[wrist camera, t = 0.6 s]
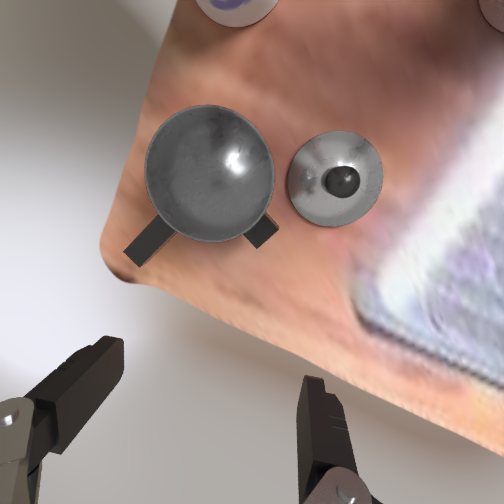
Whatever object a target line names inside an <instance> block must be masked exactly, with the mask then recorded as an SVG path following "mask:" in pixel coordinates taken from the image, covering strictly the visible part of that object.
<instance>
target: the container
mask: <svg viewBox="0 0 504 504" xmlns="http://www.w3.org/2000/svg"><path fill="white" fill-rule="evenodd" d="M196 2H197V4H198V5H199V7H200V8H201V9H202V11H203V12H204V13H205V14H206V15H207V16H208V17H209V18H211V19H212V20H214V21H215V22H217V23H219V24H222V25H225V26H229V27H243V26H248V25H251V24H253V23H255V22H257V21H259V20H260V19H262V18H263V17H265V16H266V15H267V14H268V13H269V12H270V11H271V10H272V9H273V7H274V6H275V5H276V3H277V2H278V0H196Z"/></svg>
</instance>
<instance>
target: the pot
mask: <svg viewBox="0 0 504 504" xmlns="http://www.w3.org/2000/svg"><path fill="white" fill-rule="evenodd" d="M144 169H145V183H146V188H147V191H148V195H149V197H150V200H151V202H152V204H153V206H154V208H155V209H156V211H157V212H158V215H157V216H156V217H155V218H154V219H153V221H152V222H151V223H150V224H149V225H148V226H147V227H146V228H145V229H144V230H143V231H142V232H141V233H140V234H139V235H138V236H137V237H136V239H135V240H134V241H133V242H132V243H131V244H130V245H129V246H128V247H127V248H126V249H125V250H124V251H123V252H124V253H125V254H126V255H127V256H128V257H129V258H130V259H131V260H132V261H133V262H134V263H135V264H136V265H137V266H138V267H139V268H140V267H141V266H143V265H144V264H146V263H147V262H148V261H149V260H150V259H151V258H152V257H153V256H154V255H155V254H156V253H157V252H158V251H159V250H160V249H161V248H162V247H163V246H164V245H165V244H166V243H167V242H168V241H169V240H170V239H171V238H172V237H173V236H174V235H175V234H176V233H177V232H178V233H180V234H182V235H184V236H186V237H188V238H191V239H194V240H197V241H202V242H222V241H227V240H231V239H234V238H236V237H238V236H240V235H242V234H243V235H244V236H245V237H246V238H247V239H248V240H249V241H250V242H251V243H252V244H253V245H254V247H255V248H256V249H257V248H259V247H260V246H261V245H262V244H263V243H264V242H265V241H267V240H268V239H269V238H270V237H271V236H272V235H273V234H274V233H276V232H277V231H278V230H279V226H278V225H277V223H276V222H275V221H274V220H273V219H272V218H271V217H270V216H269V215H268V214H267V212H266V209H267V207H268V205H269V203H270V200H271V198H272V194H273V190H274V182H275V171H274V164H273V159H272V155H271V152H270V150H269V147H268V145H267V143H266V141H265V140H264V138H263V136H262V135H261V133H260V132H259V131H258V129H257V128H256V127H255V126H254V125H253V124H252V123H251V122H250V121H249V120H247V119H246V118H245V117H243V116H242V115H240V114H239V113H237V112H235V111H233V110H230V109H228V108H225V107H221V106H216V105H197V106H193V107H189V108H186V109H183V110H181V111H179V112H177V113H175V114H174V115H172V116H171V117H170V118H168V119H167V120H166V121H165V122H164V123H163V124H162V125H161V126H160V127H159V129H158V130H157V131H156V133H155V134H154V136H153V138H152V140H151V142H150V144H149V147H148V150H147V154H146V158H145V167H144Z"/></svg>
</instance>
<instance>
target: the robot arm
mask: <svg viewBox="0 0 504 504" xmlns="http://www.w3.org/2000/svg"><path fill="white" fill-rule="evenodd" d="M479 4H480V8H481V11H482V13H483V15H484V17H485V19H486V20H487V21H488V22H489V23H490V24H491V25H492V26H493V27H494V28H496V29H497V30H499V31H501V32H504V0H479ZM123 371H124V341H123V339H121V338H116V337H110V336H103V337H102V338H100V339H99V340H98V341H97V342H96V343H95V344H94V345H93V346H91V345H88V346H86V347H84V348H82V349H80V350H78V351H76V352H75V353H74V354H72V355H71V356H70V357H69V358H68V359H67V360H66V362H63V363H62V364H61V365H60V366H59V367H58V368H57V369H55V370H54V371H53V372H52V373H50V374H49V375H48V376H47V377H46V378H45V379H43V380H42V381H41V382H40V383H39V384H38V385H36V387H34V388H33V389H32V390H31V391H30V392H28V393H27V394H26V395H25V396H24V397H18V398H11V399H8V400H5V401H2V402H0V504H38V497H39V488H40V480H41V471H42V459H43V458H44V457H45V456H46V455H47V453H48V452H52V453H56V454H62V453H63V452H64V450H65V449H66V448H67V447H68V445H69V444H70V443H71V442H72V440H73V439H74V438H75V437H76V435H77V434H78V433H79V432H80V430H81V429H82V428H83V426H84V425H85V424H86V423H87V421H88V420H89V419H90V418H91V416H92V415H93V414H94V413H95V411H96V410H97V409H98V408H99V406H100V405H101V404H102V402H103V401H104V400H105V399H106V398H107V396H108V395H109V394H110V392H111V391H112V390H113V389H114V387H115V386H116V385H117V384H118V382H119V381H120V379H121V377H122V374H123ZM296 422H297V454H298V486H299V504H383V503H381V502H379V501H378V500H377V499H376V498H374V497H373V496H372V495H371V494H370V492H369V490H368V488H367V486H366V484H365V483H364V481H363V480H362V479H361V478H360V477H359V475H358V471H357V467H356V463H355V458H354V454H353V449H352V445H351V441H350V436H349V432H348V428H347V424H346V421H345V414H344V410H343V406H342V404H341V403H340V401H339V400H338V398H337V397H336V395H335V394H330V393H326V391H325V385H324V380H323V379H322V378H318V377H313V376H308V375H305V376H304V379H303V383H302V388H301V392H300V397H299V401H298V406H297V421H296Z"/></svg>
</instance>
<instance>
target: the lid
mask: <svg viewBox="0 0 504 504" xmlns="http://www.w3.org/2000/svg"><path fill="white" fill-rule="evenodd" d="M382 184H383V167H382V162H381V159H380V157H379V155H378V153H377V151H376V149H375V148H374V147H373V145H372V144H371V143H370V142H369V141H367V140H366V139H365V138H363V137H362V136H360V135H358V134H355V133H352V132H348V131H330V132H326V133H323V134H320V135H318V136H316V137H314V138H312V139H311V140H309V141H308V142H307V143H306V144H305V145H303V147H302V148H301V149H300V150H299V151H298V153H297V154H296V155H295V157H294V159H293V161H292V163H291V166H290V169H289V173H288V192H289V195H290V198H291V201H292V203H293V205H294V206H295V208H296V209H297V211H298V212H299V213H300V214H301V215H302V216H303V217H304V218H306V219H307V220H309V221H311V222H312V223H315V224H318V225H321V226H328V227H336V226H343V225H346V224H349V223H352V222H354V221H356V220H357V219H359V218H361V217H362V216H363V215H365V214H366V213H367V212H368V211H369V210H370V209H371V207H372V206H373V205H374V203H375V202H376V200H377V198H378V196H379V194H380V191H381V188H382Z"/></svg>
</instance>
